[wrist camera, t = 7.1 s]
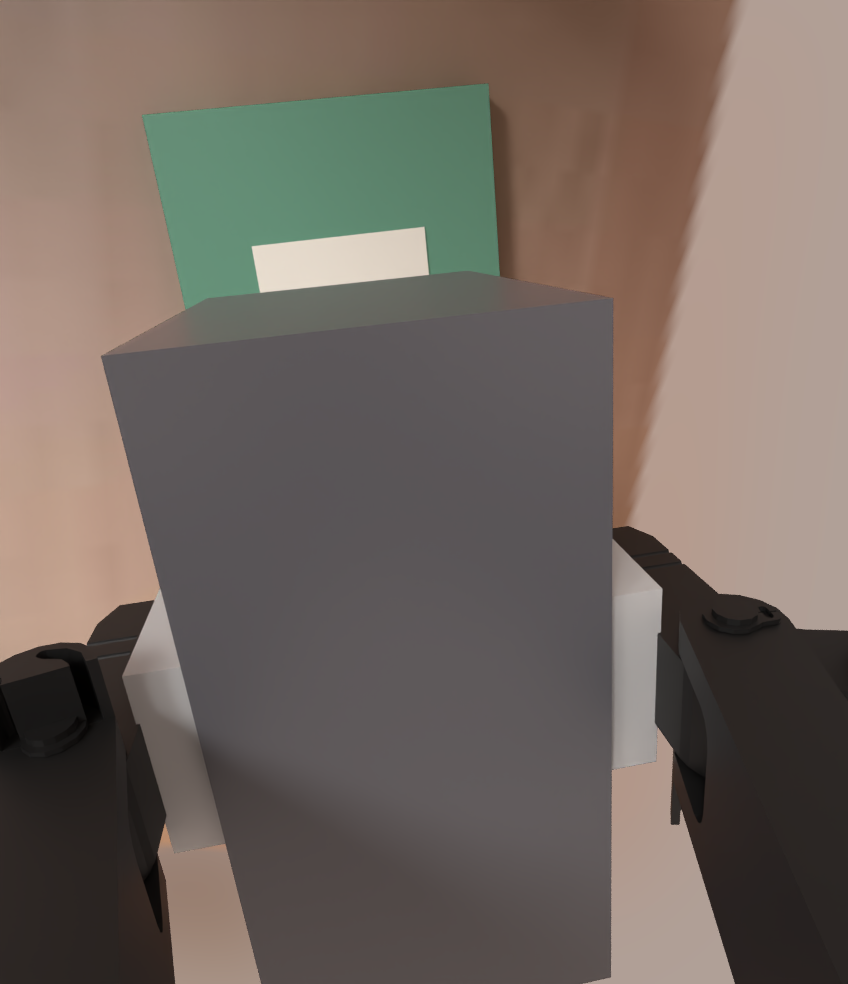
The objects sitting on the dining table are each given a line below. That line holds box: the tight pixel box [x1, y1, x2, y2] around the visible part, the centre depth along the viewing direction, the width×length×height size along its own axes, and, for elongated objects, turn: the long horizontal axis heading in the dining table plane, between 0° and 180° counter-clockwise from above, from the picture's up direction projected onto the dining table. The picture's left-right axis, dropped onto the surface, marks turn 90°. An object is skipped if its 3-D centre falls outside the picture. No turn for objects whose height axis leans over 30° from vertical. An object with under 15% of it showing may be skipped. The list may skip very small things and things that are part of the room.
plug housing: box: [101, 271, 613, 984], centre depth 12 cm, size 13×5×7 cm, turn 5°
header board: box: [142, 83, 500, 309], centre depth 26 cm, size 20×12×5 cm, turn 6°
